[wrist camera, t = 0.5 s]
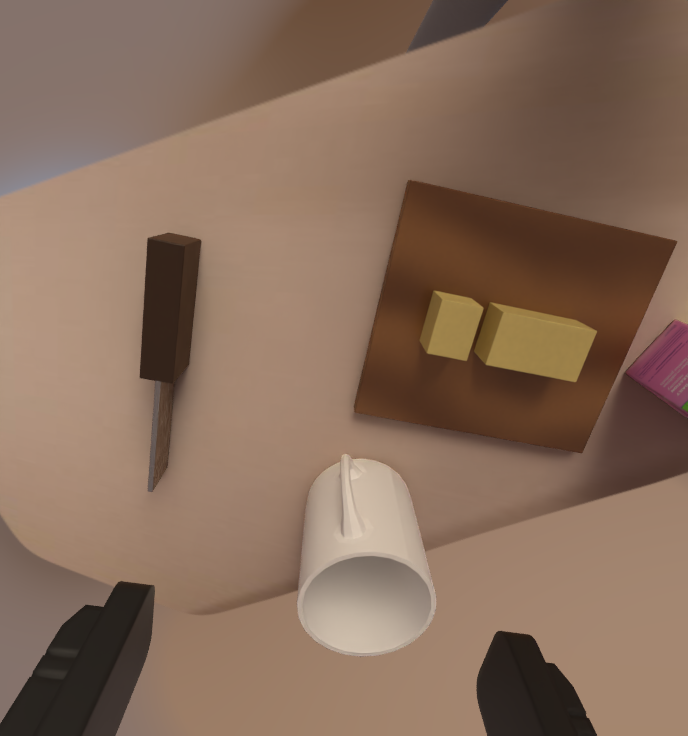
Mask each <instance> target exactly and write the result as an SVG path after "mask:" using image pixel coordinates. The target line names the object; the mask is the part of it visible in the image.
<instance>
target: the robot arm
mask: <svg viewBox="0 0 688 736" xmlns="http://www.w3.org/2000/svg"><path fill="white" fill-rule="evenodd" d="M154 595H155V587H154V585H146V584H139V583H131V582H123V581H120V582H118V583H117V585H116V586H115V588H114V589H113V591H112V593H111V595H110V596H109V598H108V600H107V602H106V604H105V605H104V607H99V606H91V605H85V606H84V607H83V608H82V609H80V610H79V611H78V612H77V613H76V614H75V615H74V616H72V617H71V618H70V619H69V620H68V621H66V622H65V623H64V624H63V625H62V626H61V628H60V630H59V631H58V633H57V634H56V636H55V638H54V639H53V641H52V642H51V644H50V646H49V647H48V649H47V651H46V654H45V655H43V657H42V658H41V660H40V662H39V663H38V665H37V666H36V668H35V670H34V671H33V674H32V676H31V677H29V679H28V681H27V682H26V684H25V685H24V687H23V688H22V690H21V692H20V693H19V695H18V697H17V698H16V700H15V701H14V703H13V704H12V706H11V708H10V709H9V711H8V713H7V714H6V716H5V717H4V719H3V720H2V722H1V723H0V736H115V735H116V733H117V730H118V728H119V725H120V723H121V720H122V718H123V715H124V713H125V710H126V708H127V705H128V703H129V700H130V698H131V695H132V693H133V691H134V688H135V686H136V683H137V681H138V678H139V676H140V673H141V671H142V668H143V665H144V663H145V660H146V657H147V653H148V650H149V646H150V641H151V635H152V623H153V609H154ZM477 699H478V704H479V708H480V712H481V715H482V719H483V722H484V726H485V729H486V732H487V736H597V734H596V732H595V730H594V728H593V726H592V724H591V722H590V720H589V718H587V717H586V711H585V709H584V708H583V705H582V703H581V701H580V699H579V697H578V695H577V693H576V691H575V689H574V687H573V686H572V684H571V683H570V682H569V681H568V680H567V678H566V677H565V676H564V675H563V674H562V673H561V671H560V670H559V669H558V668H557V666H556V665H555V664H553V663H546V662H545V660H544V658H543V656H542V653H541V651H540V649H539V647H538V645H537V643H536V641H535V639H534V638H533V637H532V636H530V635H528V634H519V633H511V632H504V631H498V632H496V634H495V636H494V638H493V640H492V642H491V645H490V647H489V649H488V652H487V654H486V657H485V659H484V661H483V664H482V666H481V668H480V671H479V674H478V677H477Z"/></svg>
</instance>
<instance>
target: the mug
mask: <svg viewBox="0 0 688 736" xmlns="http://www.w3.org/2000/svg"><path fill="white" fill-rule="evenodd" d="M297 609H298V617H299V620H300V621H301V624H302V626H303V628H304V630H305V631H306V632H307V633H308V634H309V635H310V636H311V637H312V638H313V639H314V640H315V641H316V642H317V643H319V644H321V645H322V646H324V647H326V648H327V649H329V650H332V651H336V652H338V653H341V654H346V655H353V656H360V657H363V656H377V655H382V654H386V653H390V652H394V651H396V650H399V649H401V648H403V647H405V646H407V645H409V644H411V643H412V642H413V641H414V640H416V639H417V638H418V637H419V636H421V635H422V634H423V633H424V631H425V630H426V629H427V627H428V626H429V625H430V623H431V621H432V619H433V616H434V613H435V611H436V593H435V590H434V585H433V582H432V578H431V574H430V570H429V566H428V562H427V558H426V554H425V550H424V546H423V542H422V538H421V534H420V530H419V527H418V523H417V519H416V515H415V511H414V507H413V503H412V499H411V496H410V493H409V490H408V488H407V486H406V483H405V482H404V481H403V479H402V478H401V476H400V475H399V474H398V473H397V472H396V471H394V470H393V469H392V468H391V467H389V466H387V465H385V464H383V463H380V462H378V461H374V460H369V459H352V458H351V457H350V455H348V454H344V455H342V457H341V461H340V462H339V463H336V464H334V465H332V466H330V467H329V468H327V469H325V470H324V471H323V472H322V473H321V474H320V475H319V476H318V477H317V478H316V479H315V481H314V482H313V484H312V486H311V488H310V490H309V494H308V498H307V503H306V507H305V519H304V530H303V541H302V552H301V564H300V575H299V586H298V598H297Z"/></svg>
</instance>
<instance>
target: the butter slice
mask: <svg viewBox="0 0 688 736" xmlns="http://www.w3.org/2000/svg"><path fill="white" fill-rule="evenodd" d="M483 309H484V308H483V307H482V306H481V305H479V304H478V303H477V302H476V301H474V300H473V299H472V298H467V297H463V296H458V295H453V294H448V293H443V292H439V291H433V294H432V298H431V301H430V305H429V308H428V312H427V316H426V319H425V323H424V326H423V330H422V333H421V337H420V342H421V344H422V346H423V348H424V349H425V351H426V353H428V354H433V355H438V356H443V357H448V358H453V359H458V360H464V361H467V358H468V355H469V352H470V349H471V346H472V343H473V340H474V337H475V334H476V331H477V327H478V324H479V321H480V318H481V315H482V312H483Z"/></svg>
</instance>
